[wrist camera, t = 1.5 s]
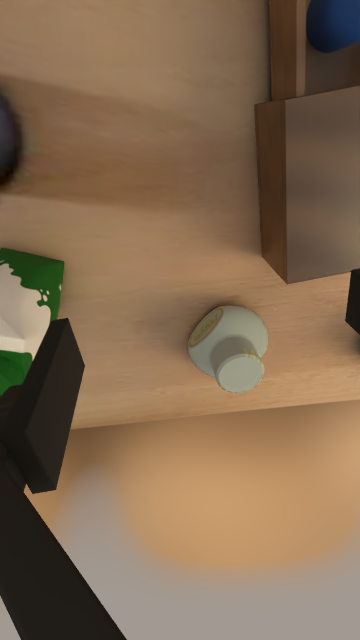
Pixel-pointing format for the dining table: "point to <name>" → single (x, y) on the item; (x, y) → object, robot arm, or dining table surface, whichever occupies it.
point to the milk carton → (25, 310)
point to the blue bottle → (333, 24)
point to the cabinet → (310, 183)
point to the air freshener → (230, 347)
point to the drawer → (305, 56)
